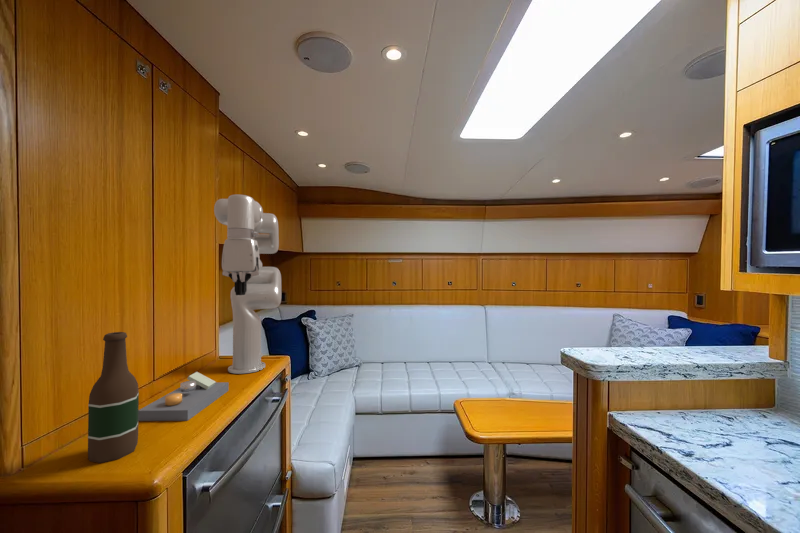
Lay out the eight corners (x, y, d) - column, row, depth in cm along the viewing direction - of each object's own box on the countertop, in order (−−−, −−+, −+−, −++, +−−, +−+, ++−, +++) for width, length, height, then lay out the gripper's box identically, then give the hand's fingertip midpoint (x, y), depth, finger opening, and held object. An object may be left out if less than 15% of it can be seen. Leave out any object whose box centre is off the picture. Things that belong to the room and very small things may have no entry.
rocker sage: (195, 374, 98) (197, 371, 98) (214, 384, 98) (216, 381, 98) (187, 379, 94) (188, 376, 94) (206, 389, 94) (208, 386, 94)
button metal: (185, 387, 92) (185, 380, 92) (198, 387, 92) (198, 380, 92) (177, 391, 88) (177, 385, 88) (190, 391, 88) (190, 385, 88)
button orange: (171, 399, 86) (171, 393, 86) (185, 399, 86) (185, 392, 86) (161, 405, 82) (161, 398, 82) (176, 405, 82) (176, 398, 82)
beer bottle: (92, 469, 61) (94, 338, 61) (83, 454, 65) (84, 333, 66) (144, 450, 67) (145, 332, 67) (132, 438, 72) (133, 328, 72)
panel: (188, 390, 100) (188, 379, 100) (228, 390, 100) (228, 379, 100) (137, 421, 80) (137, 406, 80) (187, 420, 80) (187, 406, 80)
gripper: (269, 237, 106) (269, 294, 106) (222, 236, 105) (222, 294, 105) (260, 234, 98) (260, 295, 98) (209, 234, 98) (209, 295, 98)
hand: (240, 294), depth 102 cm, fingers closed
